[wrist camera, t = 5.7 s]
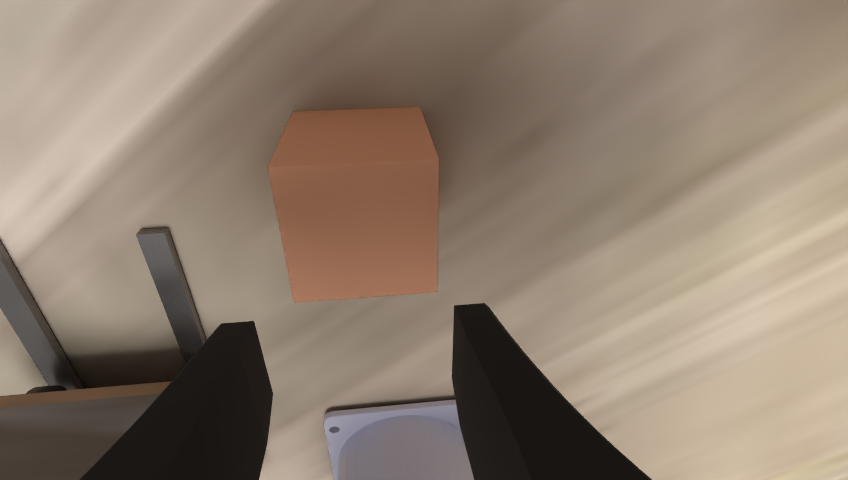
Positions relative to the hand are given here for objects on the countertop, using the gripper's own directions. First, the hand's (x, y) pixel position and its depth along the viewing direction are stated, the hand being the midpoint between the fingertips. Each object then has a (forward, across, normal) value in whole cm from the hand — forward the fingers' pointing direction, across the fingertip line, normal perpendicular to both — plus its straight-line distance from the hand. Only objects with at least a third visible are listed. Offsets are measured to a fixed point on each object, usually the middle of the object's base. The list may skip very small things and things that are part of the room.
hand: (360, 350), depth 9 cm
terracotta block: (+10, 0, 0) cm, 10 cm away
